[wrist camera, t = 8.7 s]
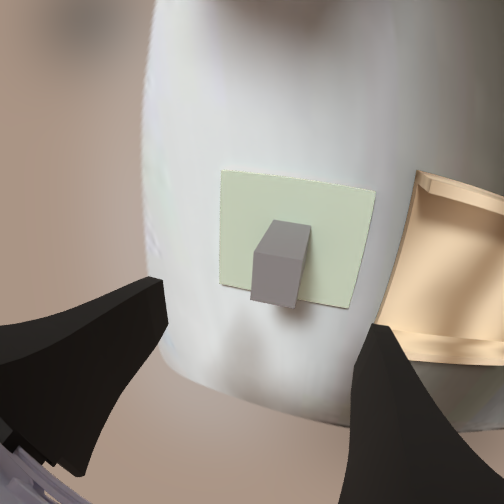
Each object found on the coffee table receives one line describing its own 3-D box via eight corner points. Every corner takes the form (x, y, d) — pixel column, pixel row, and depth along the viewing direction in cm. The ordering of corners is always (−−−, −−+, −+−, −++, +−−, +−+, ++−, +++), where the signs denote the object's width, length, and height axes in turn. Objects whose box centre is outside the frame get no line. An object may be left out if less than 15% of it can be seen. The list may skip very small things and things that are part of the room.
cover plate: (373, 189, 14) (389, 218, 10) (347, 300, 17) (347, 356, 13) (226, 168, 16) (185, 188, 11) (223, 277, 19) (192, 322, 15)
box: (559, 220, 10) (579, 235, 8) (505, 343, 14) (516, 365, 12) (416, 170, 12) (431, 179, 10) (372, 328, 17) (374, 355, 15)
